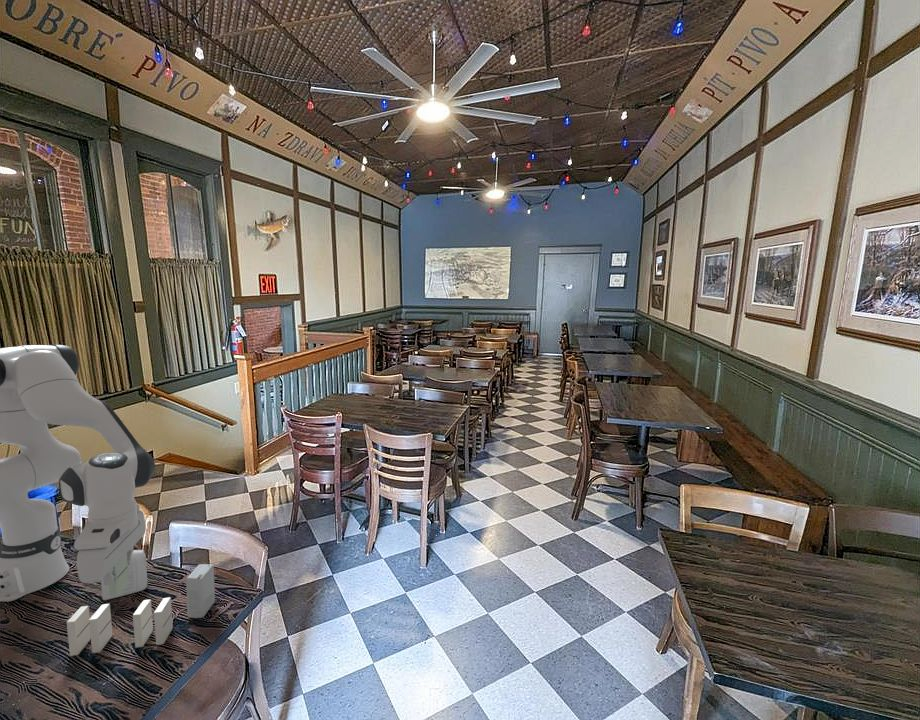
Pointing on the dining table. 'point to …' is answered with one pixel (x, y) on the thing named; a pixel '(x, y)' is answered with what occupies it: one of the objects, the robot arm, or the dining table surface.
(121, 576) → the pale green domino
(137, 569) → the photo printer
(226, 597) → the dining table surface
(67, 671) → the dining table surface
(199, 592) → the skincare box
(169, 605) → the domino
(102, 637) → the domino
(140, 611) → the domino
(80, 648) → the domino
